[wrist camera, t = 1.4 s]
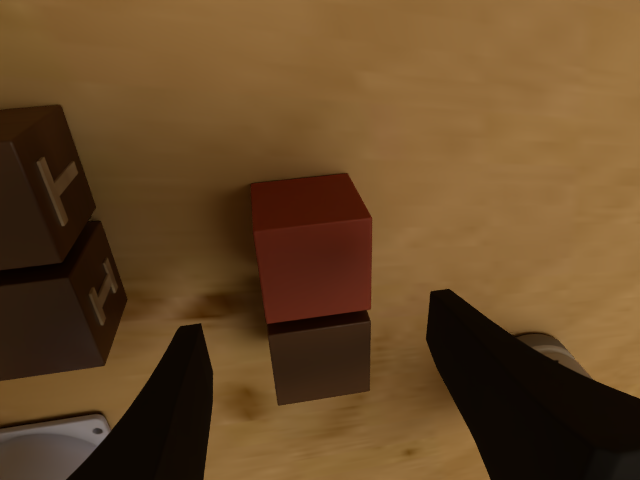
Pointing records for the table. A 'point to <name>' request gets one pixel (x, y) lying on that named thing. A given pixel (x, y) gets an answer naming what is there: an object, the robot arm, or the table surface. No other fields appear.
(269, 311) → the block
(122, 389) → the table surface
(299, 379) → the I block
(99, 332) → the dark brown cube block
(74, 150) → the T block
